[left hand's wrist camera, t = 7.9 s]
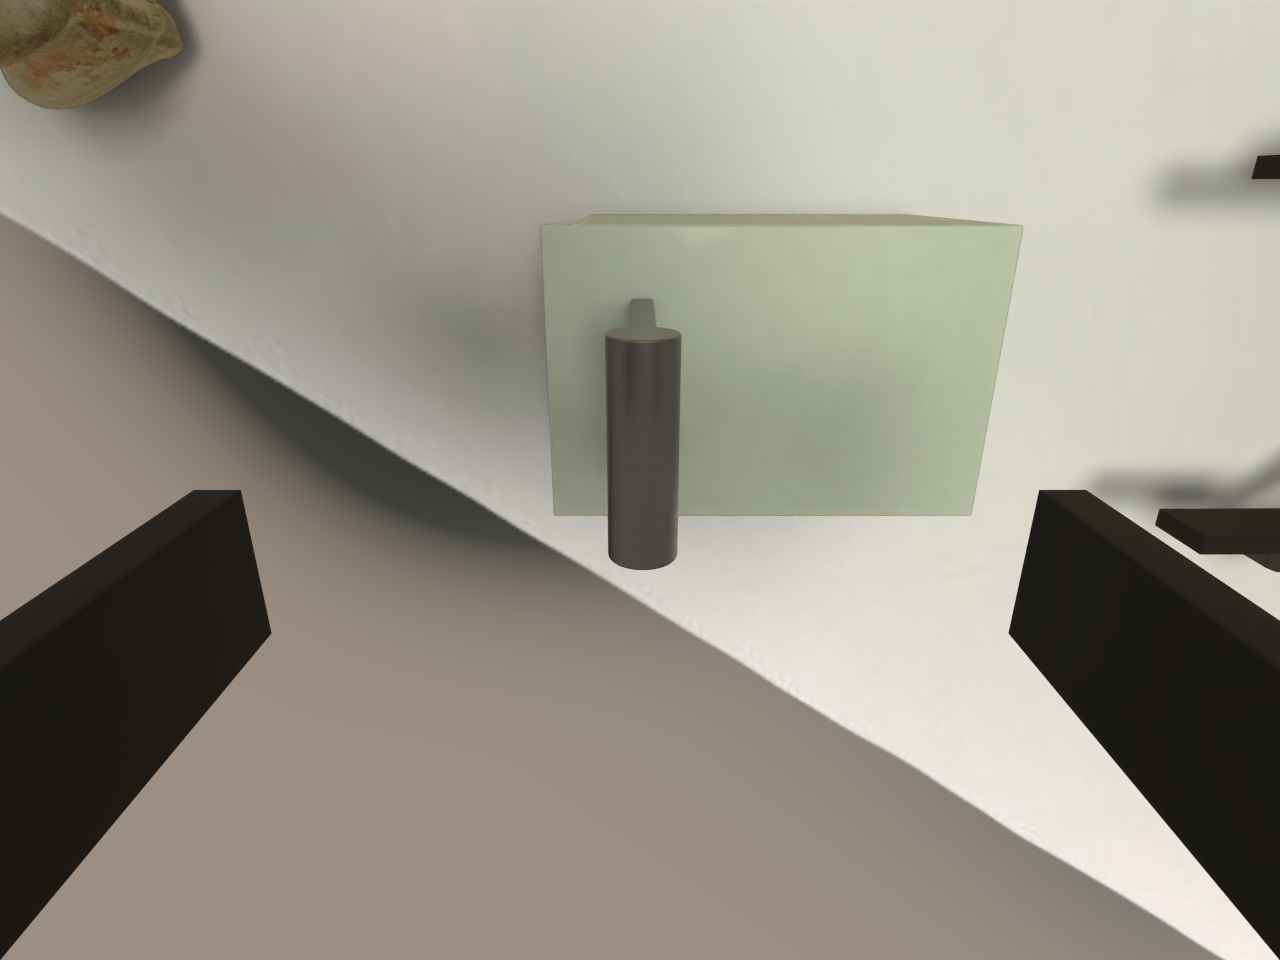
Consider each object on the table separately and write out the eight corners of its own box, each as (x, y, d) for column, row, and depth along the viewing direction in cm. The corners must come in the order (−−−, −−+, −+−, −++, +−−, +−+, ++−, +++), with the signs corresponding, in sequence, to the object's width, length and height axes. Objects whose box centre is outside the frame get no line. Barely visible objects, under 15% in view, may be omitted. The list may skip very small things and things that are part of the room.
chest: (595, 427, 35) (580, 506, 27) (590, 214, 32) (571, 223, 23) (882, 427, 35) (961, 506, 27) (909, 214, 32) (1011, 224, 23)
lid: (556, 507, 26) (520, 641, 19) (543, 223, 23) (492, 241, 15) (962, 507, 26) (1098, 641, 19) (1012, 224, 23) (1205, 242, 15)
